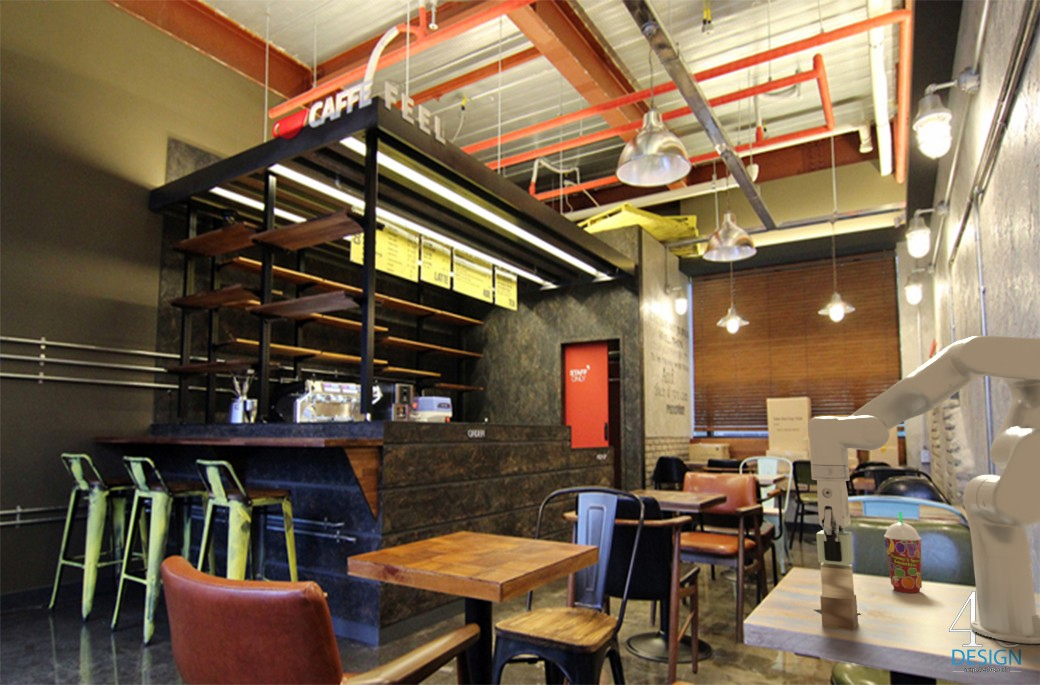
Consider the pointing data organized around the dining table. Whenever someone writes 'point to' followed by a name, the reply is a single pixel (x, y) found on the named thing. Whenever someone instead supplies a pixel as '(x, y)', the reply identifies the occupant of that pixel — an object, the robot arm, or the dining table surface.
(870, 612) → the dining table surface
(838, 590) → the tower top
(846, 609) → the tower base
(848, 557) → the sage block
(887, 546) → the smoothie
